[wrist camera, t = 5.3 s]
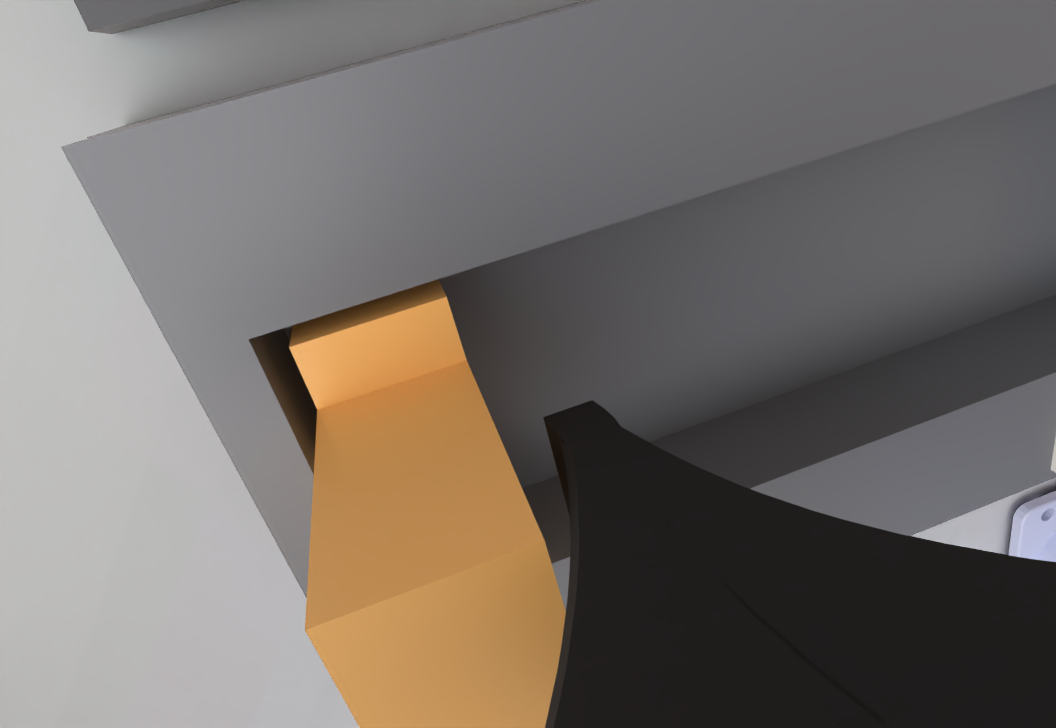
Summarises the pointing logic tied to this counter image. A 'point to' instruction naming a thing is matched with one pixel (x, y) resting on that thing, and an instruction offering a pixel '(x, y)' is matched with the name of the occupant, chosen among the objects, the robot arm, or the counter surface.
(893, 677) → the robot arm
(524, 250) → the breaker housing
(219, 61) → the counter surface
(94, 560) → the counter surface
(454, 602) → the knob
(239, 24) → the counter surface
